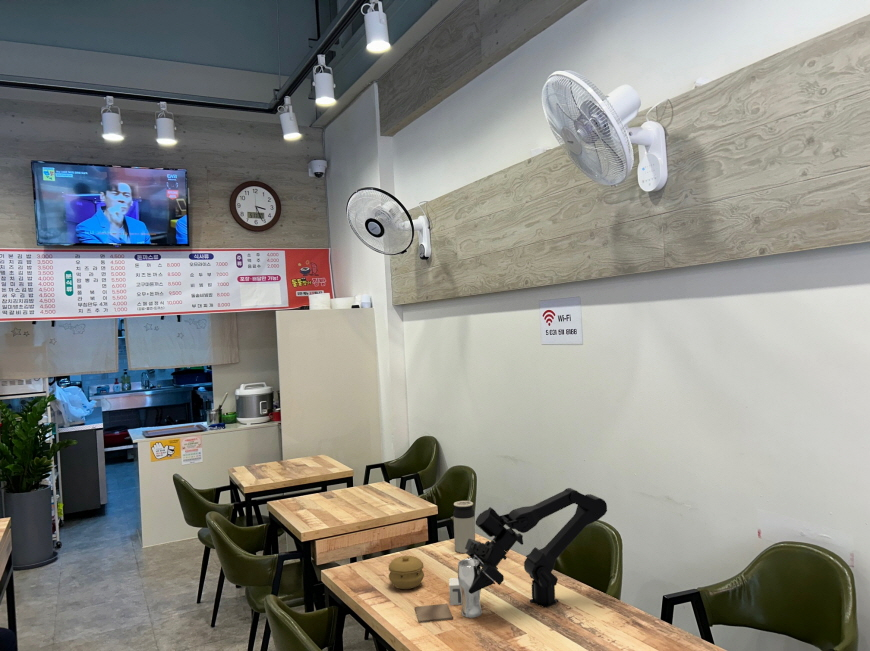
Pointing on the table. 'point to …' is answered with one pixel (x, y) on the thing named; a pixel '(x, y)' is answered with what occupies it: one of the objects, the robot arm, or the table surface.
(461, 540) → the travel mug
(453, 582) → the letter block
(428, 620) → the coaster
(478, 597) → the beer glass
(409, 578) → the pot
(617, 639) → the table surface
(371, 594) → the table surface
